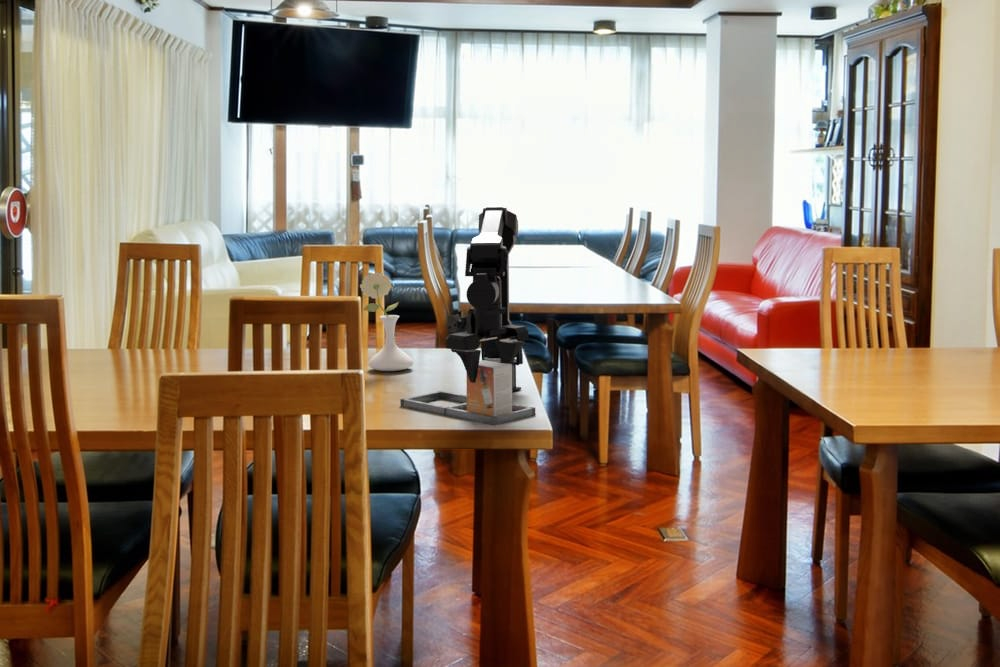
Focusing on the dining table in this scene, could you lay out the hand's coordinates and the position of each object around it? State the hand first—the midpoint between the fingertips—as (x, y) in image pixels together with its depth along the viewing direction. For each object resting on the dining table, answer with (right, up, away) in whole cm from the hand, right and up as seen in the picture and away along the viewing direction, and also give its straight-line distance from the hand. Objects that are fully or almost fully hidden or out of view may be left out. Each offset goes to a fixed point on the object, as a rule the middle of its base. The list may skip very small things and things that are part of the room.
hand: (488, 379), depth 221 cm
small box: (0, -7, +1) cm, 7 cm away
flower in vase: (-26, 0, +55) cm, 61 cm away
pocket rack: (-5, -7, +6) cm, 10 cm away
